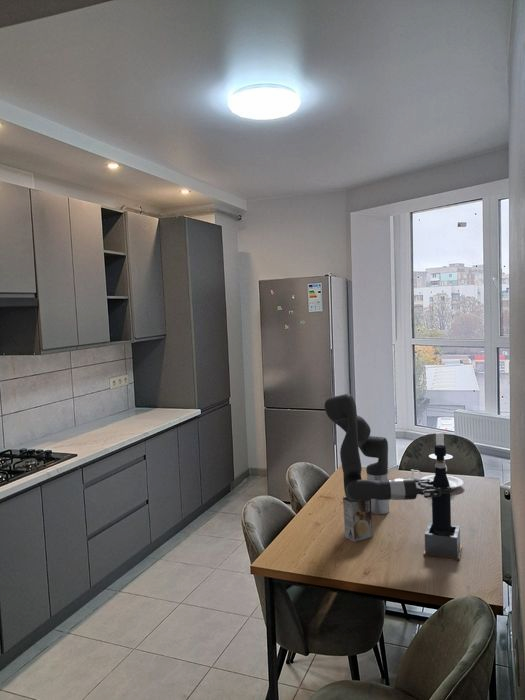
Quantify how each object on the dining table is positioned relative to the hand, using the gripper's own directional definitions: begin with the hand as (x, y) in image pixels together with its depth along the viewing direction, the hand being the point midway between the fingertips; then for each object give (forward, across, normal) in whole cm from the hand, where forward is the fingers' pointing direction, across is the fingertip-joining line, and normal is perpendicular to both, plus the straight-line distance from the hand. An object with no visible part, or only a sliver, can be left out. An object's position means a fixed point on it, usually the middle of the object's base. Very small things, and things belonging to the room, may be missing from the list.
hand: (447, 487), depth 193 cm
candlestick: (+20, +71, +24) cm, 77 cm away
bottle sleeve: (-2, 0, +24) cm, 24 cm away
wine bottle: (-2, 0, +15) cm, 15 cm away
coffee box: (-29, +17, +24) cm, 42 cm away
